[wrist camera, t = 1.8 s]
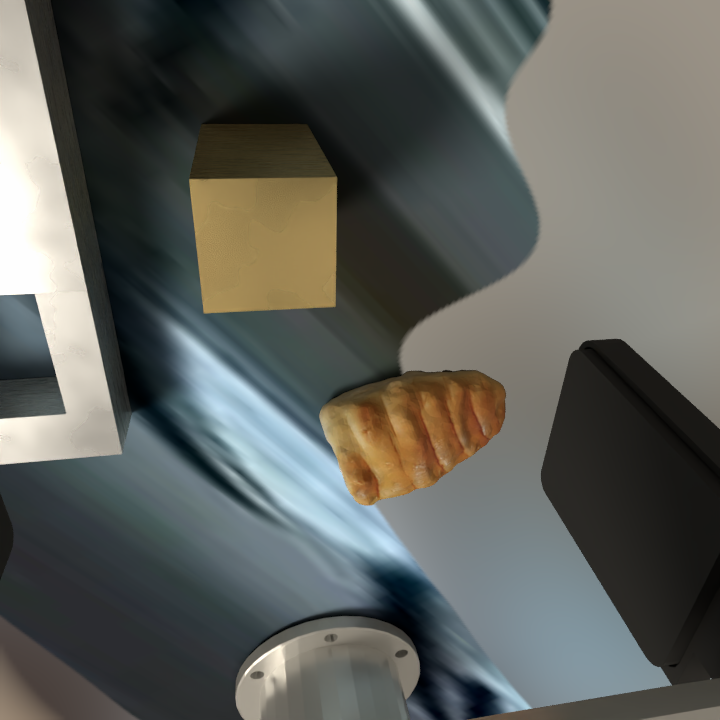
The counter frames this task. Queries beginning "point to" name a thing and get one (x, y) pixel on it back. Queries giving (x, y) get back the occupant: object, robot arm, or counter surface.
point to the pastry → (410, 429)
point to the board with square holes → (52, 256)
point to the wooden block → (263, 218)
